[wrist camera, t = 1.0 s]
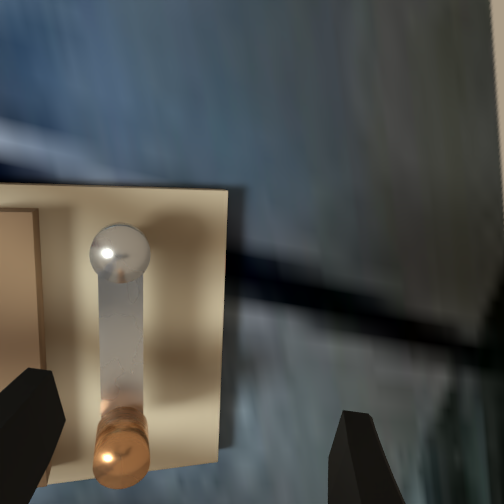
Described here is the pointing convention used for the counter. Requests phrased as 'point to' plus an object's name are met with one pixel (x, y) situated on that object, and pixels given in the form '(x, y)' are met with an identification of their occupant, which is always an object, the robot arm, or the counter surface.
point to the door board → (87, 311)
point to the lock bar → (121, 355)
